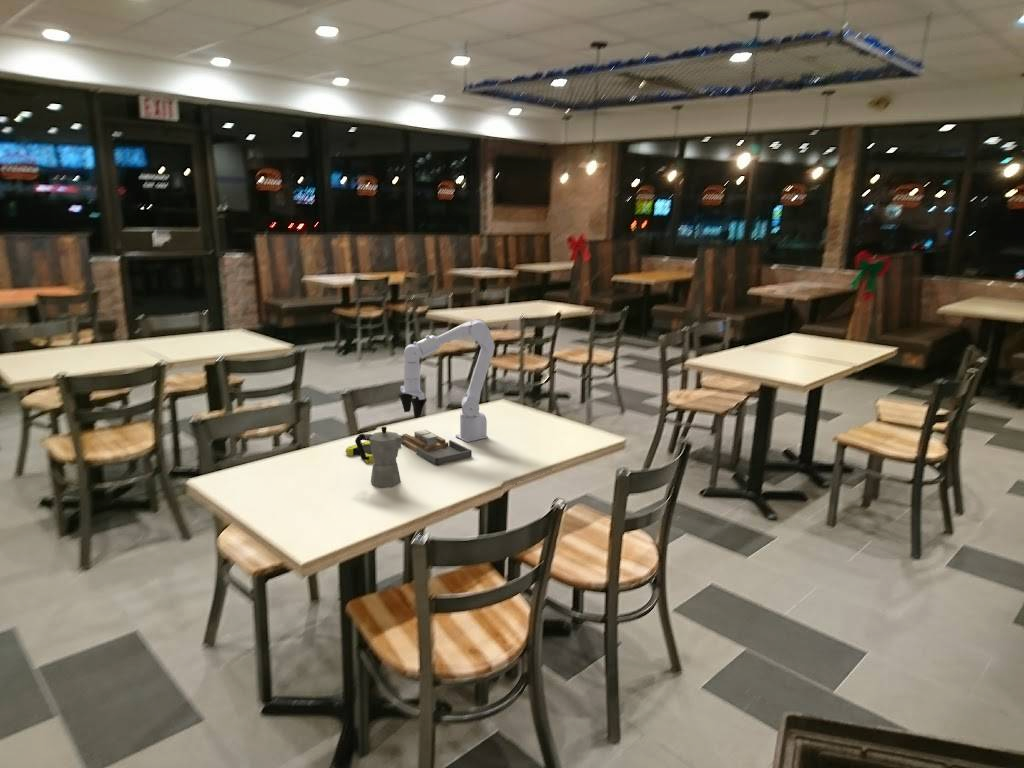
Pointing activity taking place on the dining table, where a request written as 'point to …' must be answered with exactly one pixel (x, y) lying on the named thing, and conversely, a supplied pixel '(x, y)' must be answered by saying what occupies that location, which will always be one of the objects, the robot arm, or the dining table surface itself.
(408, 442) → the slot board
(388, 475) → the coffeepot
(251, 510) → the dining table surface
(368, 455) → the stun gun
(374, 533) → the dining table surface
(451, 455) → the tray
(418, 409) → the robot arm
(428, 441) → the chip front
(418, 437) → the block
